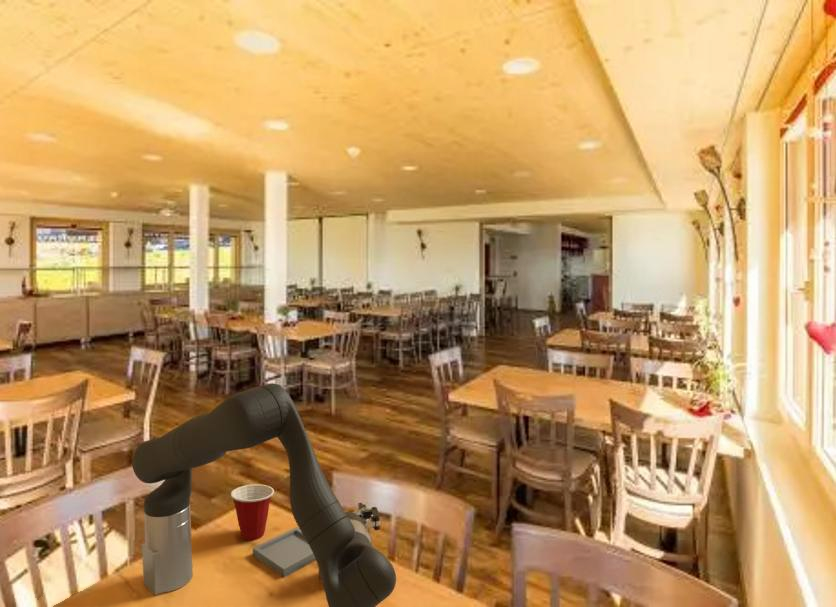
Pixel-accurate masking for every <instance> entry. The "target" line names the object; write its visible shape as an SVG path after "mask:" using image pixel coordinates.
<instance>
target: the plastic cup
mask: <svg viewBox="0 0 836 607" xmlns="http://www.w3.org/2000/svg"><path fill="white" fill-rule="evenodd" d="M274 494H275V490H274V488H273V487H271V486H269V485H265V484H257V483H256V484H255V483H254V484H246V485H243V486H238V487H236V488H234V489H232V491H231V492H230V495H231V496H230V497H231V498H232V501H233V504H234V508H235V512H236V518H237V523H238V527H239V530H240V536H241V538H242V540H245V541H255V540H258V539H261V537H263V536H264V535H265V532H266V528H267V527H266V525H267V521H268V516H269V510H270V504H271V499H272V498H273V495H274Z"/></svg>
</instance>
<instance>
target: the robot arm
mask: <svg viewBox="0 0 836 607" xmlns="http://www.w3.org/2000/svg"><path fill="white" fill-rule="evenodd" d="M302 421H303V420H302V418H301V416H300V414H299V412H298V409H297V407H296V405H295V403H294V401H293V400H292V398H291V396H290V394H289V393H288V391H287V390H286V389H285V388H284V387H283V386H282V385H280V384H277V383H266V384H263V385H259V386H256V387H251V388H249V389H246V390H241V391H240V392H237V393H234V394H232V395H229V397H227V398H226V399H224V400H223V401H222V402H221V403H220V404H218V405H217V406H216V407H215V408H213V409H212V410H211V411H210V412H206V413H201V414H198V415H196V416H194V417H192V418H191V419H188V420H186V421H185V422H183V423H181V424H180V425H178V426H177V427H175V428H173V429H171V430H169V431H168V432H167V433H165V434H163V435H162V436H160V437H156V438H155V437H154V438H153V439H152V438H151V439H148V440H145V441H142V442H141V443H139V445H138V446H136V448H135V450H134V452H133V454H132V455H133V456H132V459H131V460H132V461H131V465H132V471H133V472H134V475H135V476H136V477H137V479H138V480H139V481H141V482H142V483H144V484H156V483H159V482H162V481H163V482H162V483H161V484H160V485H158V487H157V488H154V490H152V491H151V492H150V493H148V494H147V495H146V497H145V499H144V501H143V510H144V511H143V515H144V537H145V541H144V542H143V543H142V544H141V553H142V572H143V573H142V574H143V576H142V577H143V579H142V580H143V585H144V586H145V587H146V588H147V589H148V590H149V591H150V592H151V594H153V595H154V596H157V595H159V594H162V593H169V592H172V591H175V590H178V589H180V588H182V587H184V586H185V585H187V584H188V583H189V582H190V581H191V580H192V579H193V573H194V572H193V555H192V554H193V552H192V550H193V549H192V526H191V525H192V522H191V495H192V475H193V472H192V471H193V470H192V469H195V468H198V467H203V466H206V465H208V464H210V463H212V462H216V461H217V460H219V459H221V458H222V457H223V456H224V455H225V454H226V453H227V452H231V451H238V450H245V449H251V448H252V447H253V448H254V447H256V446H258V445H260V444H263V443H265V442H268V441H271V440H272V439H278V440H279V442H280V443H281V444H282V446H283V448H284V450H285V452H286V456H287V458H288V465H289V502H290V508H291V509H290V510H291V514H292V516H293V518H294V521H295V523H296V525H297V527H298V528H299V529H300V530H301V532H302V534H303V535H304V537H305V539H306V541H307V543H308V544H309V546H310V548H311V550H312V552H313V554H314V556H315V559H316V560H315V561H316V564H317V567H318V571H319V570H320V574H321V577H322V581H323V582H322V581H321V582H322V585H323V590H324V594H325V597H326V598H325V599H326V601H327V605H328V607H377V606H378V605H379V604H380V603H382V602H383V601H384V600H385V599H387V598H388V597H390V595H391V594H392V593H393V591H395V590H394V589H395V587H396V583H397V575H396V570H395V568H394V566H393V564H392V563H391V561H390V560H389V559H388V557H387V556H385V555H384V553H382V552H381V551H379V550H378V549H377V548H375V547H373V546H372V540H371V536H370V533H369V531H368V528H372V529H373V530H374V531H379V530H381V521H380V520H381V519H380V518H381V517H380V514H379V513H380V512H379V511H378V507H376V506H372V507H371V508H370V509H369V507H367V506H366V504H363V503H362V502H358V503H357V505H358V509H355V510H354V511H353V512H351V511H346V510H344V508H343V506H342V504H341V503H340V501H339V499H338V497H337V496H336V494H335V493H334V491H333V489H332V488H331V486H330V484H329V482H328V480H327V478H326V476H325V475H324V472H323V470H322V468H321V466H320V463H319V460H318V459H317V456H316V453H315V450H314V448H313V445H312V443H311V440H310V438H309V435H308V433H307V430H306V428H305V426H304V423H303V422H302Z"/></svg>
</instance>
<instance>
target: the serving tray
mask: <svg viewBox="0 0 836 607" xmlns="http://www.w3.org/2000/svg"><path fill="white" fill-rule="evenodd" d="M252 557H254V558H255V559H257V560H259V561H260V562H261V563H263V564H264V565H265V566H267V567H268V568H270V569H271V570H273V571H275V572H276V573H277V574H278V575H280V576H281V577H283V578H286V577H288V576H289V575H292V574H293V573H295V572H297V571H299V570H300V569H302V568H304V567H306V566H307V565H310V564H312V563H313V562H315V561H316V559H315V556H314V554H313V552H312V550H311V548H310V546H309V544H308V543H307V541H306V539H305V537H304V535H303V534H302V532H301V530H300V528H299V527H298V526H296V527H293V528H292V529H289V530H287V531H286V532H283V533H281V534H279V535H277V536H275V537H273V538H271V539H268V540H267V541H264V542H262V543H261V544H258V545H255V546H253V547H252Z"/></svg>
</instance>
